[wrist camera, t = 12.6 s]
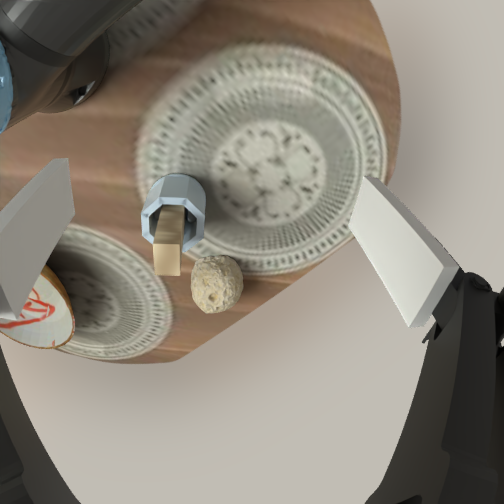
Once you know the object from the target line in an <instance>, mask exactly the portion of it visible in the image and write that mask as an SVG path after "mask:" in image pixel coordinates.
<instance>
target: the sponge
mask: <svg viewBox="0 0 504 504" xmlns="http://www.w3.org/2000/svg"><path fill="white" fill-rule="evenodd" d="M191 290H192V297H193V299H194V301H195V303H196V304H197V305H198V307H199V308H200V309H201V310H203V311H204V312H205V313H206V314H207V313H219V312H221V311H225V310H227V309H229V308H231V307H232V306H234V305H235V304H236V302H238V300H239V298H240V296H241V292H242V290H243V274H242V272H241V270H240V267H239V265H238V264H237V263H236V261H235V260H233V259H231V258H229V257H228V256H222V255H219V256H214V257H213V256H208V257H205V258H201V259H199V260H197V261H196V262H195V265H194V267H193V269H192V274H191Z"/></svg>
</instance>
